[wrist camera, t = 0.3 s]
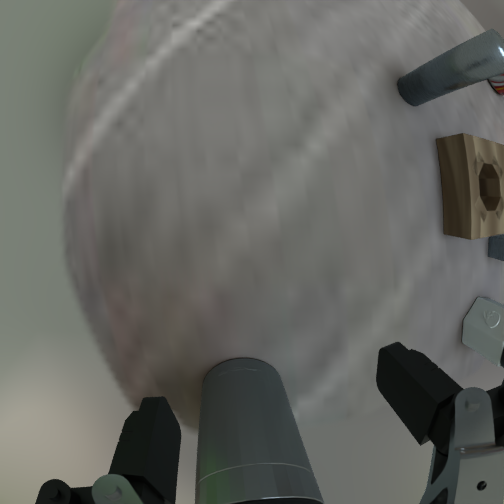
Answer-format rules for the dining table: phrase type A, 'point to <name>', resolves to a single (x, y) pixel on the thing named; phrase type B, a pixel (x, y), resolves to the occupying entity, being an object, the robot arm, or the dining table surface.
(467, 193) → the socket block
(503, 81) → the soda can
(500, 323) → the jar
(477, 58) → the round bit
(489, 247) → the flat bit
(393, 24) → the dining table surface
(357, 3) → the dining table surface
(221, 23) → the dining table surface
